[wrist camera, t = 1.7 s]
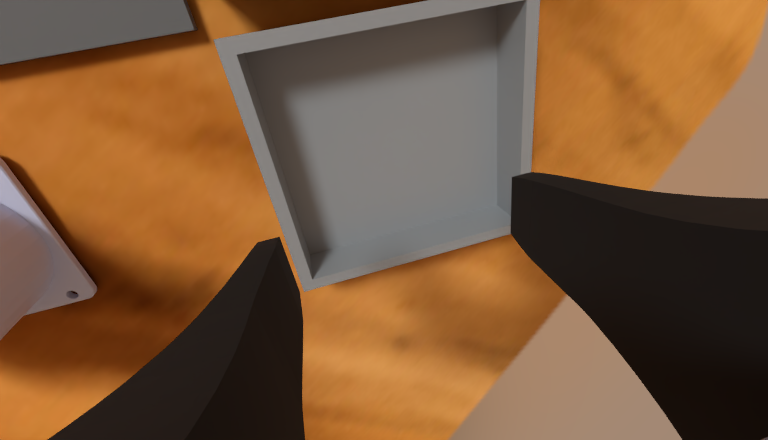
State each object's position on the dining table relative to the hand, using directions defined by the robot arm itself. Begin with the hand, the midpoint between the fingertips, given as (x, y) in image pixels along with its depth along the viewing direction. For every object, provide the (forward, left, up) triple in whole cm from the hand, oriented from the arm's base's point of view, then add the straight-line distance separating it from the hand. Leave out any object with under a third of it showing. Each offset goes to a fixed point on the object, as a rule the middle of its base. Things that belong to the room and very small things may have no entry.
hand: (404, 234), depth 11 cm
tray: (+2, 0, -9) cm, 10 cm away
